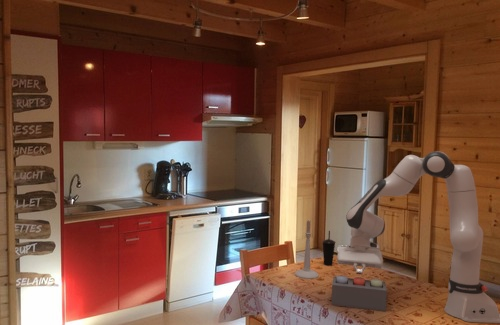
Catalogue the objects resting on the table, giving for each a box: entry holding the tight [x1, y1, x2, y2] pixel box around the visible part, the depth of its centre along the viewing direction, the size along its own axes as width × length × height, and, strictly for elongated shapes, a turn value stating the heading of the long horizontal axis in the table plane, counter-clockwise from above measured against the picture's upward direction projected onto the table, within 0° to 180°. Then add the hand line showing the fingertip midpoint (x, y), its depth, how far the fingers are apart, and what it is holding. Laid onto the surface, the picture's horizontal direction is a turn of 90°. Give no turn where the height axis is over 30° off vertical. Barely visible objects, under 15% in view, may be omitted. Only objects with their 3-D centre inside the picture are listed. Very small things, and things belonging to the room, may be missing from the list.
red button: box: [353, 276, 366, 286], centre depth 192 cm, size 5×5×4 cm
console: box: [330, 276, 388, 312], centre depth 192 cm, size 23×12×9 cm, turn 76°
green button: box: [370, 278, 383, 288], centre depth 190 cm, size 5×5×4 cm
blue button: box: [336, 275, 348, 284], centre depth 194 cm, size 5×5×4 cm
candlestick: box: [294, 219, 319, 280], centre depth 230 cm, size 13×13×30 cm
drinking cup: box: [321, 230, 336, 267], centre depth 251 cm, size 8×8×20 cm
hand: (359, 273), depth 192 cm, fingers closed
